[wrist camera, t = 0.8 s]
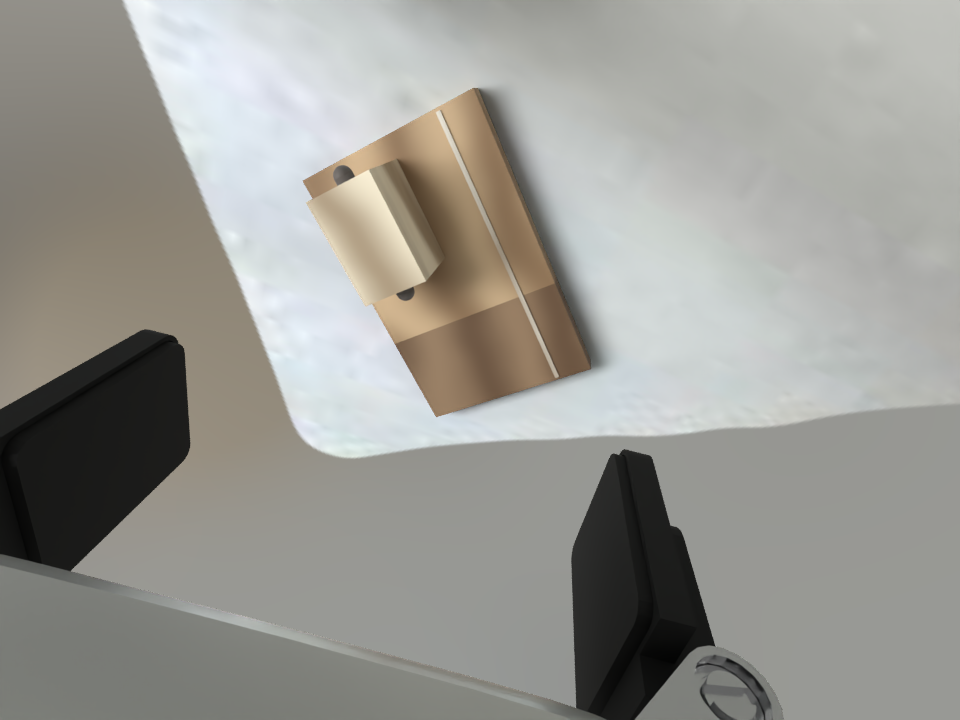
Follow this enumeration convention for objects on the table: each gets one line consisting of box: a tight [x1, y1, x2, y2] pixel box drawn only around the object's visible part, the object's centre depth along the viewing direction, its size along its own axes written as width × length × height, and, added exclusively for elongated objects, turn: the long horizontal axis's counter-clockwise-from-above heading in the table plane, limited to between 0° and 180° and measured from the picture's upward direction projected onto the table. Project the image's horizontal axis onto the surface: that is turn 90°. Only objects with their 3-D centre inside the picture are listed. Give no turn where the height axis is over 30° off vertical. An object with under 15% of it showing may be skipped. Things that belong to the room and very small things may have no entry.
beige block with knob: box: [306, 159, 445, 307], centre depth 33 cm, size 4×9×5 cm, turn 25°
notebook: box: [303, 88, 591, 417], centre depth 37 cm, size 13×20×2 cm, turn 25°
